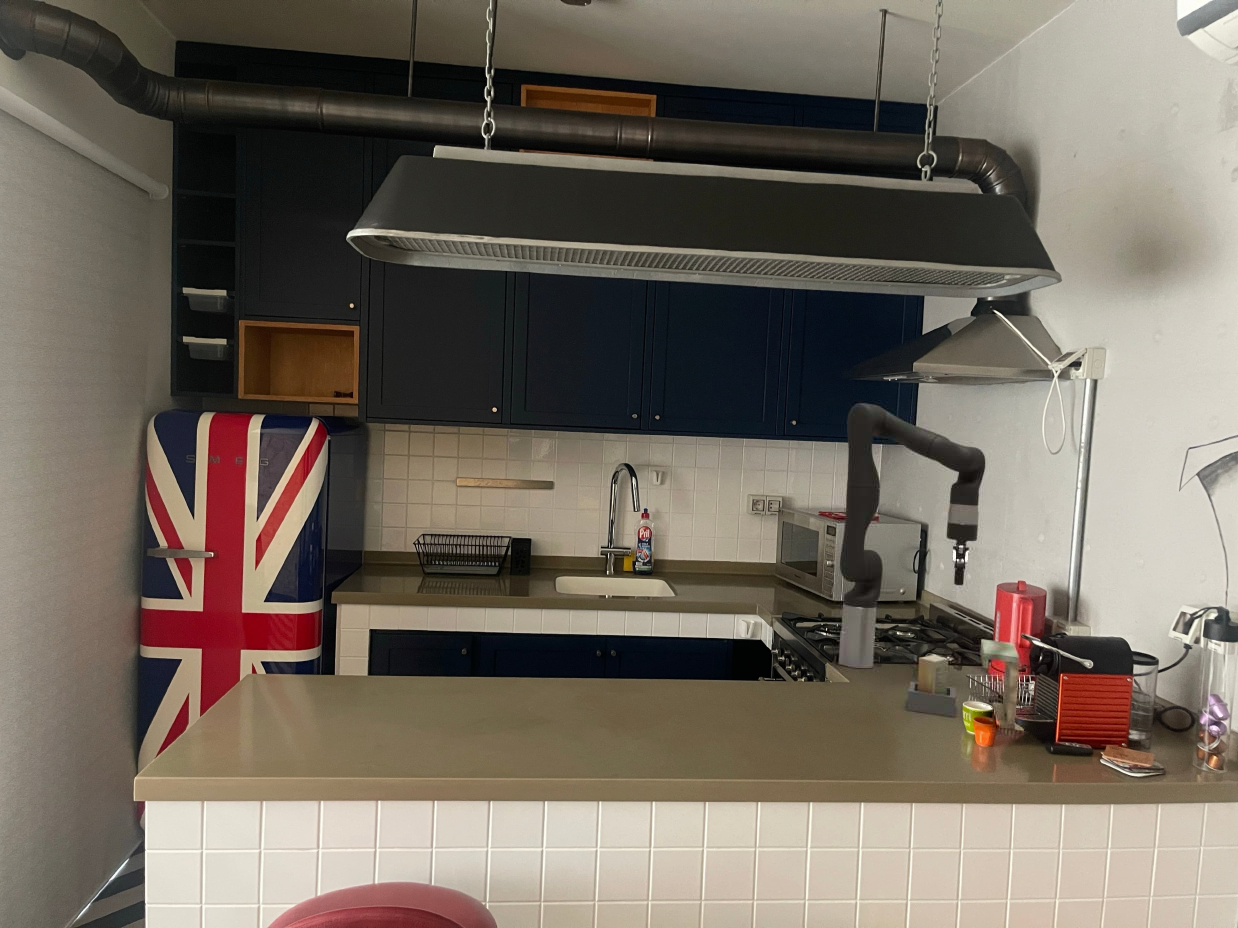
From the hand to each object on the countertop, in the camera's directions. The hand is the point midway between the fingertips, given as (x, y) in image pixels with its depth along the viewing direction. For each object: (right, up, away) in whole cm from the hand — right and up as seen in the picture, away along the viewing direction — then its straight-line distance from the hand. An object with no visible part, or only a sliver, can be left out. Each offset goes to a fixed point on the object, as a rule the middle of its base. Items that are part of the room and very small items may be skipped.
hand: (958, 583), depth 228 cm
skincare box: (-15, -27, -21) cm, 38 cm away
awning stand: (0, -28, -26) cm, 38 cm away
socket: (-15, -27, -21) cm, 37 cm away
